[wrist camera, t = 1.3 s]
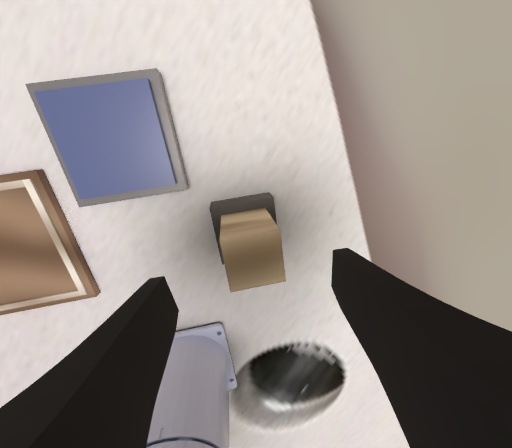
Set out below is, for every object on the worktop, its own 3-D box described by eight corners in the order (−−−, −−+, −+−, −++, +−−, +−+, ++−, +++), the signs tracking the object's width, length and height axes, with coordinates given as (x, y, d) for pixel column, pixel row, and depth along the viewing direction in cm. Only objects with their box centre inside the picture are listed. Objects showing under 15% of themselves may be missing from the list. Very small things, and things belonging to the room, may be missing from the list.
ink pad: (189, 187, 18) (186, 190, 16) (87, 203, 17) (74, 208, 16) (160, 73, 15) (154, 65, 14) (38, 88, 14) (18, 81, 13)
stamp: (275, 243, 20) (298, 288, 14) (222, 253, 20) (221, 304, 14) (268, 192, 19) (291, 215, 12) (211, 201, 18) (203, 231, 12)
